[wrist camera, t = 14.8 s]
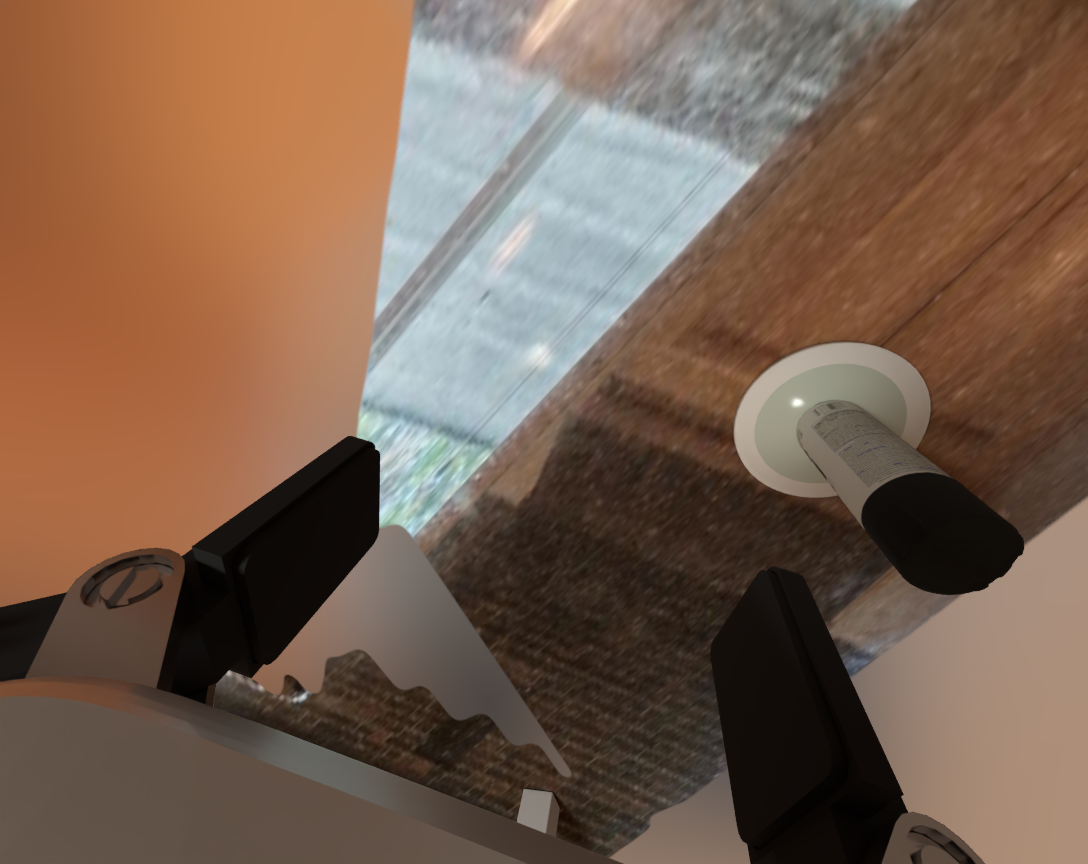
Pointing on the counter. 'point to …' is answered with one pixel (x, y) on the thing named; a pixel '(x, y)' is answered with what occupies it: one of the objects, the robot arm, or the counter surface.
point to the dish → (819, 377)
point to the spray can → (908, 502)
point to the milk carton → (539, 811)
